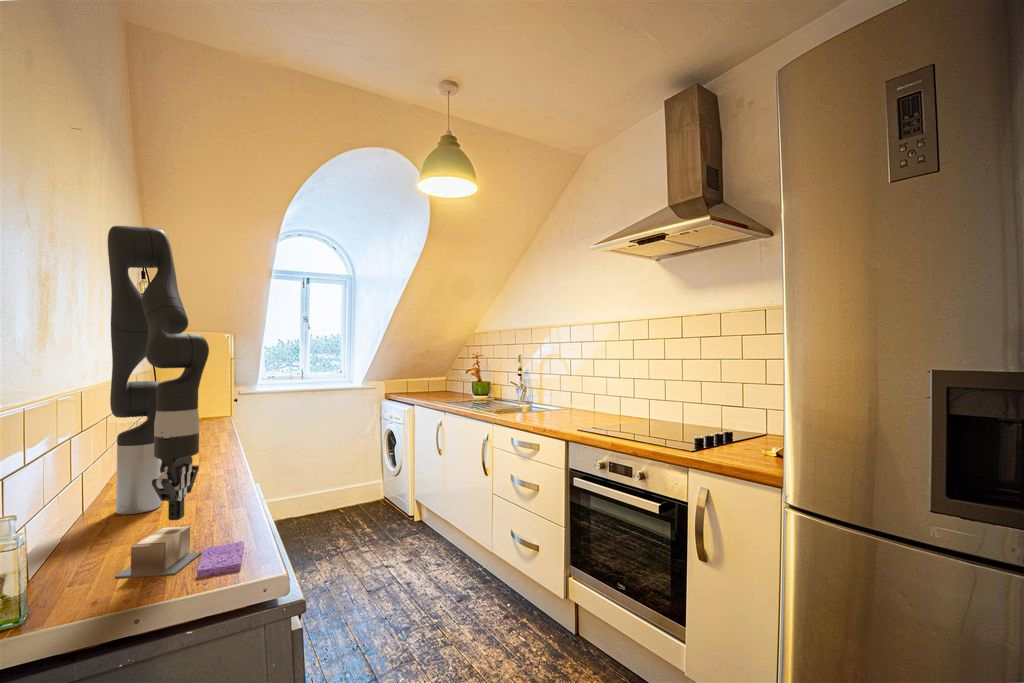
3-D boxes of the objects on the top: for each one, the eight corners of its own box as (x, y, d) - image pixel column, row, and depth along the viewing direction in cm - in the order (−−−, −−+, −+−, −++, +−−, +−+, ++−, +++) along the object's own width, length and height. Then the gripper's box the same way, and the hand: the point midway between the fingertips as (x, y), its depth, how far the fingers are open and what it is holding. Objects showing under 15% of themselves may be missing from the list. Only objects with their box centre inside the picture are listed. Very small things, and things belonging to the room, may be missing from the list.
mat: (147, 556, 97) (147, 554, 97) (201, 553, 98) (201, 552, 98) (115, 577, 88) (115, 576, 88) (175, 574, 89) (175, 572, 89)
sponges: (196, 580, 87) (196, 570, 88) (204, 555, 99) (204, 546, 99) (241, 572, 91) (241, 562, 91) (243, 549, 102) (244, 540, 102)
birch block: (163, 527, 98) (131, 547, 88) (190, 526, 99) (161, 545, 89) (163, 552, 98) (130, 575, 88) (189, 551, 99) (160, 573, 89)
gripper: (175, 428, 105) (174, 509, 104) (136, 438, 92) (134, 531, 91) (212, 427, 106) (212, 508, 105) (179, 437, 93) (178, 529, 92)
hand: (176, 518), depth 98 cm, fingers closed
